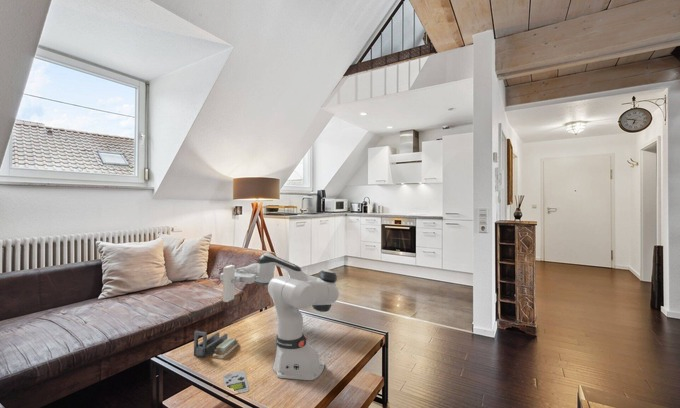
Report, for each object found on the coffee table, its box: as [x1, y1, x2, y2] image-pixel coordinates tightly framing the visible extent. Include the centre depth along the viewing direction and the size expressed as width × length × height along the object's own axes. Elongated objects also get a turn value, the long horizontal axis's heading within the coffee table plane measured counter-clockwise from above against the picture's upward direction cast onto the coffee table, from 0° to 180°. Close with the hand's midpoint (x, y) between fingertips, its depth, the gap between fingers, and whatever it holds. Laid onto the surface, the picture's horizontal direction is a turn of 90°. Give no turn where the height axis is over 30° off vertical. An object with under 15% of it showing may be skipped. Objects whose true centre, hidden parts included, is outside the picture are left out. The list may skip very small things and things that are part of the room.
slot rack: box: [193, 330, 228, 358], centre depth 148 cm, size 6×16×11 cm, turn 163°
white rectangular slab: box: [222, 264, 236, 303], centre depth 159 cm, size 2×6×18 cm, turn 163°
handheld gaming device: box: [222, 370, 250, 394], centre depth 121 cm, size 9×1×15 cm
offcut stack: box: [212, 337, 240, 360], centre depth 146 cm, size 5×14×4 cm, turn 167°
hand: (229, 281), depth 159 cm, fingers closed on white rectangular slab, 2 cm apart
